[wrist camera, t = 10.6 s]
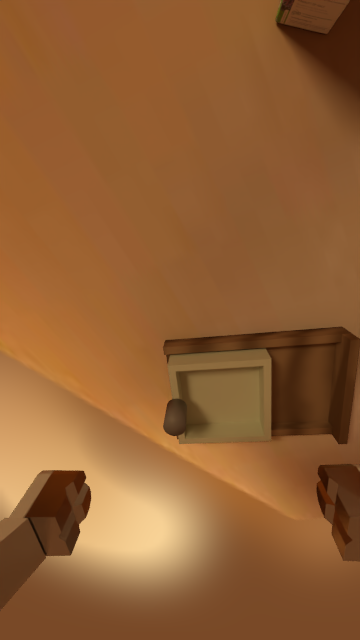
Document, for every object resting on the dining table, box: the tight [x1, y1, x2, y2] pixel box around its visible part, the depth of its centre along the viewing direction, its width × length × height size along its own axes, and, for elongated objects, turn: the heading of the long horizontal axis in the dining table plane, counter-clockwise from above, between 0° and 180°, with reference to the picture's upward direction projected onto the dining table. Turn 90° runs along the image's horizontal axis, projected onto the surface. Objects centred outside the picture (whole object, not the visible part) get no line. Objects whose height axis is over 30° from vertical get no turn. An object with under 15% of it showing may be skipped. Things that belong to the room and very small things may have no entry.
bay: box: [163, 327, 360, 444], centre depth 38 cm, size 26×17×4 cm, turn 97°
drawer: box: [163, 348, 271, 444], centre depth 36 cm, size 15×14×8 cm
